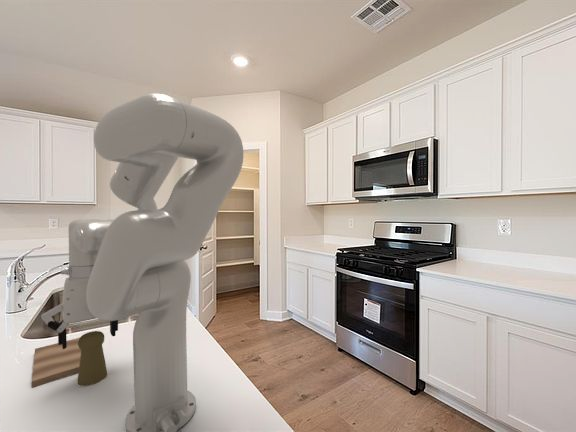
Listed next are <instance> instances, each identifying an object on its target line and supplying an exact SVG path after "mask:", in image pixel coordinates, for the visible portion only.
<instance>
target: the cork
mask: <svg viewBox="0 0 576 432" xmlns="http://www.w3.org/2000/svg"><path fill="white" fill-rule="evenodd" d="M79 338H80V339H79V341H78V346H79V348H80V349H81V357H80V365H79V373H77V380H76V381H77V383H76V384H77V386H80V387H88V386H93V385H95V384H98V383H100V382H102V381H103V380H105V378H107V376H108V369H107V363H106V359H105V354H104V348H103V344H104V343H105V333H103V332H102V331H100V330H94V331H93V330H92V331H89V332H86V333H84V334H82V335H81V336H80V337H79Z"/></svg>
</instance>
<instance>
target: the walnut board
mask: <svg viewBox="0 0 576 432" xmlns="http://www.w3.org/2000/svg"><path fill="white" fill-rule="evenodd" d="M79 339H80V337H76V338H72V339H69V340H68V339H67V340H66V342H67V348H65V349H63V348H62V344H61V345H58V342H56V343H53V344H49V345H45V346H41V347H37V348H34V356H33V366H32V374H31V375H32V376H31V388H32V389H33V388H36V387H39V386H42V385H45V384H49V383H51V382H55V381H57V380H61V379H64V378H67V377H70V376H73V375H76V374H77V375H78V373H79V365H80V357H81V349H80V348H79V346H78V341H79Z"/></svg>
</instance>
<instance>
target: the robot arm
mask: <svg viewBox="0 0 576 432" xmlns="http://www.w3.org/2000/svg"><path fill="white" fill-rule="evenodd" d="M93 145H94V147H95V151H96V152H97V154H98V155H99V156H100V157H101V158H102V159H105V160H106V161H108V162H109V161H110V162H116V163H118V165H117V167H116V169H115V171H114V173H113V175H112V176H111V178H110V181H109V187H110V190H111V191H112V193H113V194H114V196H115V197H116V198H118V199H119V200H121V201H122V202H124V203H126V204H128V205H129V206H132V207H135V208H136V209H137V210H131V211H126V212H124V213H122V214H120V215H118V216H117V217H116V218H114V219H106V220H105V219H95V218H93V219H92V218H91V219H88V218H86V219H83V218H82V219H75V220H72V221H71V222H69V224H68V266H67V267H65V268H61V269H60V273H61V274H60V275H65V276H68V277H67V278H65V280H64V285H63V289H62V290H63V291H62V292H63V293H62V299H61V300H62V302H61V303H59V304H58V305H56V306H54V307H53V308H51V309H49V310H47V311H46V312H44V313H42V314H41V317H40V318H41V319H42V321H43V322H44V324H46V326H47V327H48V328H50V329H52V330H53V331H54V332H55V331H56V333H57V340H58V341H57V343H58V345H61V344H62V348H63V349H65V348H67V342H66V341H67V327H68V326H69V324H76V323H77V324H78V323H81V322H86V321H91V320H96V319H97V320H99V321H103V322H109V333H110V335H111V337H115V336H116V332H117V331H119V320H123V319H126V318H128V317H132V316H134V315H137V317H136V320H135V323H134V326H133V332H132V350H133V351H132V355H133V390H134V392H133V393H134V395H133V397H134V405H133V406H132V407H131V408H130V409H129V411H128V412H127V414H126V417H125V430H126V432H177V431H178V430H179V429H181V428H182V427H184V426H185V425H186V423H188V422H189V421H190V419H191V418H192V417H193V415H194V414H195V411H196V407H197V404H196V403H197V401H196V400H197V399H196V397H195V395H194V394H193V392H191V391H190V390H188V363H187V362H188V360H187V359H188V357H187V356H188V355H187V354H188V353H187V351H188V349H187V310H188V309H187V307H188V299H189V294H190V288H191V281H192V280H191V279H192V278H191V277H192V276H191V270H190V267H189V265H188V263H187V262H186V261H187V260H190V259H191V258H193V257H194V256H195V255H196V254H198V252H199V250H200V249H201V248H202V245H203V244H204V242H205V239H206V237H207V235H208V234H209V232H210V230H211V228H212V226H213V224H214V221H215V220H216V218H217V216H218V213H219V211H220V209H221V207H222V205H223V204H224V201H225V200H226V199H227V196H228V194H229V193H230V192H231V190H232V188H233V187H234V185H235V183H236V182H237V180H238V177H239V176H240V173H241V170H242V168H243V164H244V146H243V141H242V139H241V136H240V134H239V133H238V131H237V130H236V128H235V127H234V126H233V125H232V124H230V122H228V120H225V119H224V118H222V117H220V116H219V115H216V114H214V113H212V112H210V111H207V110H205V109H202V108H199V107H197V106H194V105H192V104H190V103H188V102H185V101H182V100H180V99H179V98H178V99H177V98H176V97H173V96H170V95H168V94H163V93H148V94H145V95H142V96H139V97H136V98H135V99H132V100H130V101H127V102H124V103H123V104H120V105H118V106H116V107H114V108H112V109H110V110H109V111H108V112H106V113H105V114H103V116H102V117H101V118H100V120H99V121H98V123H97V125H96V127H95V130H94V133H93ZM179 158H183V159H190V160H193V161H196V164H195V165H194V166H193V167H191V168H190V169H189V170H188V171H186V172H185V173H184V174H183V175H181V177H180V178H179V179H178V180H177V182H176V183H175V185H173V188H172V191H171V193H170V195H169V198H168V199H167V202H166V203H165V205H164V206H163V207H161V208H159V209H158V206H157V203H156V201H155V197H156V195H157V193H158V192H159V190H160V188H161V187H162V185H163V184H164V182H165V181H166V179H167V177H168V176H169V174H170V172H171V170H172V169H173V167H174V165H175V164H176V162H177V160H179ZM60 312H61V313H62V318H61V320H59V322H58V321H57V320H54V318H53V316H56V315H57V314H58V313H60Z"/></svg>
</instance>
